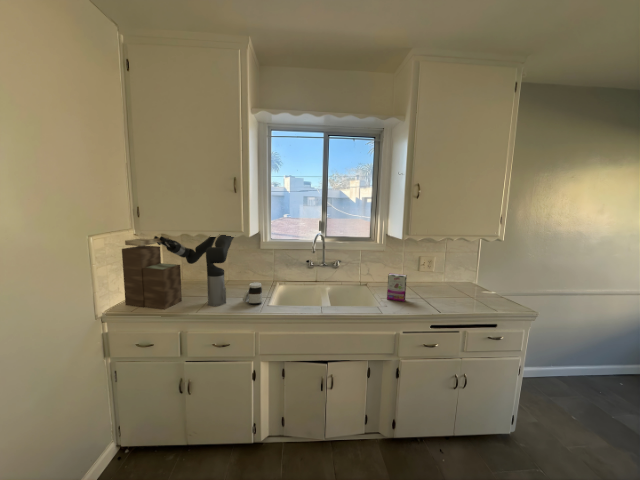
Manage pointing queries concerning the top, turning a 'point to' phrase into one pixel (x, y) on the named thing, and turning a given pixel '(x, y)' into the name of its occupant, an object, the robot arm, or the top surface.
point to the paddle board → (142, 241)
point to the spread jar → (254, 294)
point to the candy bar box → (396, 287)
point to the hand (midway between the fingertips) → (157, 237)
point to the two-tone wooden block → (150, 278)
